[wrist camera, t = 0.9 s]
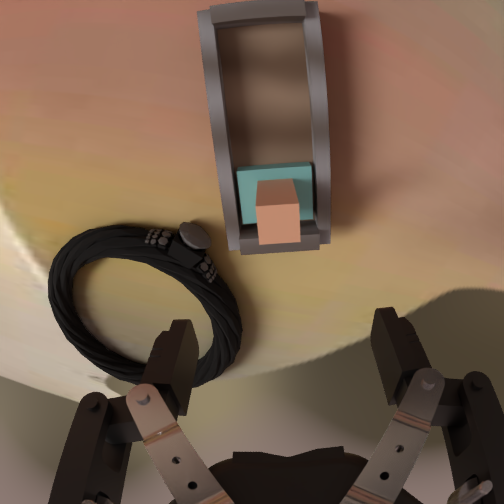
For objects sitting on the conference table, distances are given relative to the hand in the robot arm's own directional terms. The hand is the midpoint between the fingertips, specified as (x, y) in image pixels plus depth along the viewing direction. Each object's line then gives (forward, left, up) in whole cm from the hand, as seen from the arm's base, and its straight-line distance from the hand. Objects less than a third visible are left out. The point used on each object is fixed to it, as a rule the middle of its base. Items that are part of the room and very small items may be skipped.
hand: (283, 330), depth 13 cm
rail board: (-6, 0, -20) cm, 21 cm away
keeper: (0, 0, -18) cm, 18 cm away
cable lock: (+15, -18, -20) cm, 31 cm away
